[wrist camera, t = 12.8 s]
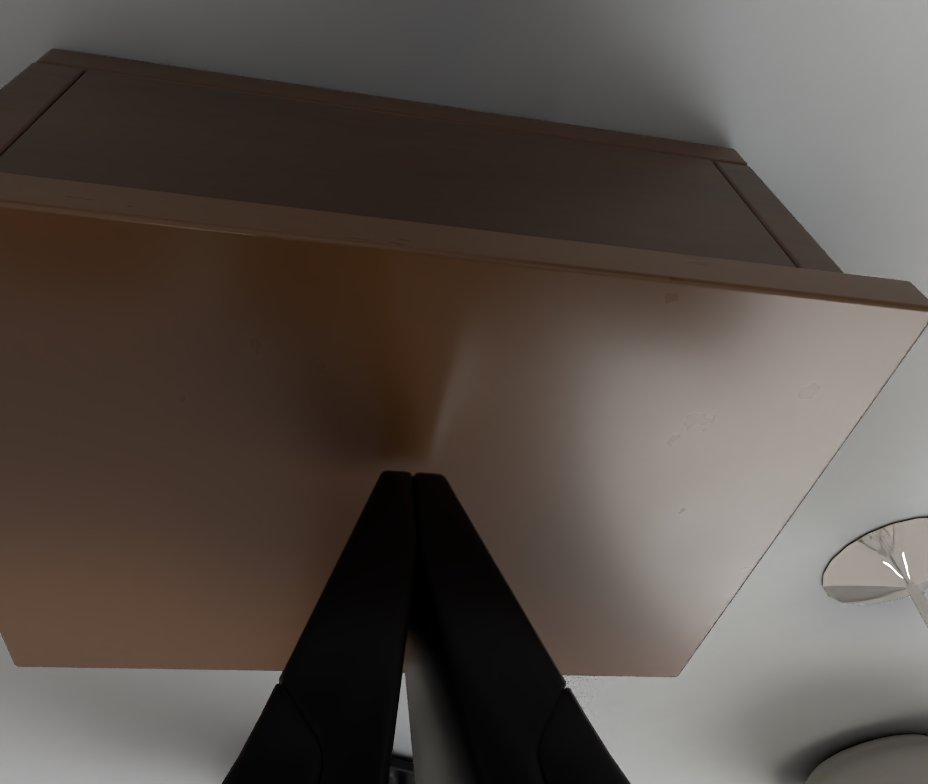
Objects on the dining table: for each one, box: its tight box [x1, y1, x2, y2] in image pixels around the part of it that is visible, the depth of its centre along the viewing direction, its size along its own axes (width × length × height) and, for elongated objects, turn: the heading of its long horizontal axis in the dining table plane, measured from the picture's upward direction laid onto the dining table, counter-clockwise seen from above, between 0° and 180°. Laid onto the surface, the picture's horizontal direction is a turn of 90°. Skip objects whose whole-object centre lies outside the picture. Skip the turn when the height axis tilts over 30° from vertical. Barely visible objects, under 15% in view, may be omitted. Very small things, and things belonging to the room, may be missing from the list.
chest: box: [0, 49, 843, 273], centre depth 14 cm, size 9×13×6 cm
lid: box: [0, 172, 928, 677], centre depth 11 cm, size 9×13×1 cm
